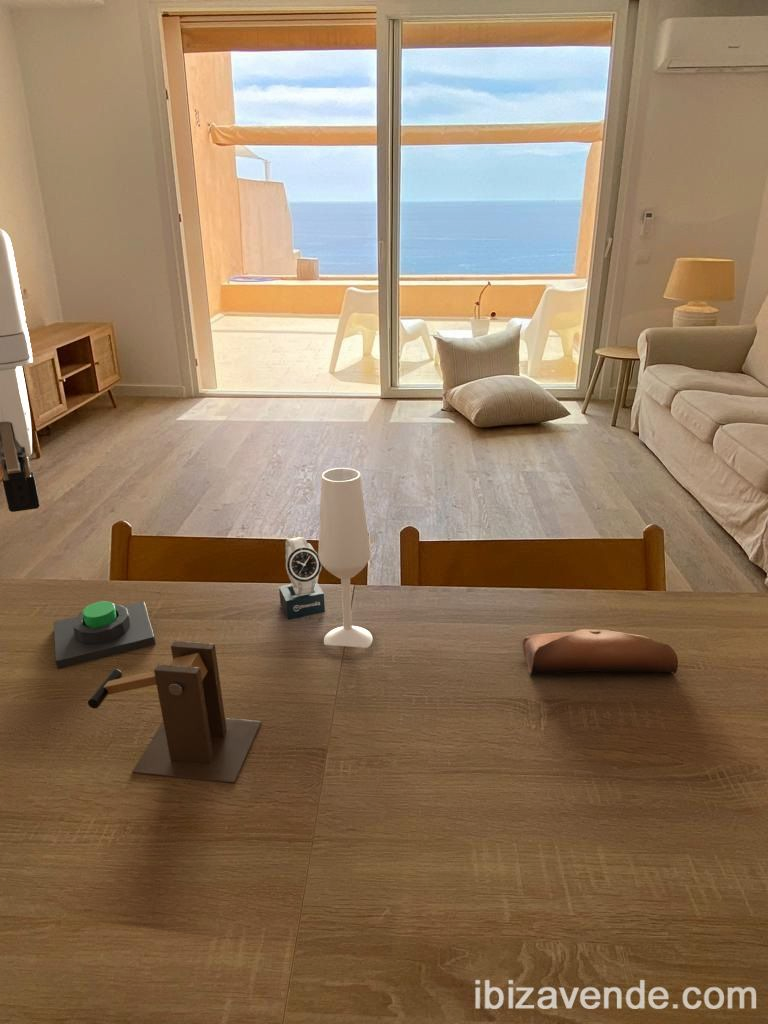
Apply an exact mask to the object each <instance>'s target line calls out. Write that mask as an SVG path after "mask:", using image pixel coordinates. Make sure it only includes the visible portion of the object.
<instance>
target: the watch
mask: <svg viewBox="0 0 768 1024" xmlns="http://www.w3.org/2000/svg"><path fill="white" fill-rule="evenodd" d="M284 557H285V569H286V574H287V575H288V579H289V581H290V583H289V584H284V585H280V586H278V591H279V592H278V593H279V604H280V607H281V609H282V611H283V613H284V615H285V618H286V619H287V620H288V621H289V620H294V619H298V618H302V617H306V616H312V615H316V614H320V613H325V612H326V607H325V605H326V604H325V592H323V589H322V588H321V586H320V585H319V583H318V582H319V577H320V573H321V571H322V564H321V562H320V560H319V558H318V551H316V550H315V549H314V547H313V546H312V544H311V543H310V542H309V543H308V541H307V540H306V538H305V537H304V536H300V537H294V538H287V539H286V540H285V555H284Z"/></svg>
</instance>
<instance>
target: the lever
mask: <svg viewBox="0 0 768 1024" xmlns="http://www.w3.org/2000/svg"><path fill="white" fill-rule="evenodd" d="M170 665H173V666H186V667H199V668H200V671H201V678H202V680H203V679H204V677H205V675H206V674H207V672H208V670H207V669H206V667H205V665H204V663H203V661H202V659H201V657H200V655H199V653H195V654H191V655H186V656H181V657H177V658H175V659H174V660H173V659H172V662H171V663H170ZM152 686H157V684H156V679H155V674H154V670H153V671H149V672H145V673H144V672H143V673H139V674H135V675H130V676H125V677H123V673H122V671H121V670H119V669H117V668H116V669H112V670H111V672H109V674H108V675H107V677H106V678H105V679H104V680H103V681H102V683H101V684H100V685H99V687H98V688H97V689H96V690H95V691H94V692H93V694H92V695H91V696H90V697H89V699H88V700H87V705H88V706H89V708H92V709H98V708H99V707H100V706H101V704H102V703H103V702H104V700H105V699H106V698H107V697H108V696H109V695H113V694H118V693H123V692H126V691H132V690H137V689H142V688H147V687H152Z"/></svg>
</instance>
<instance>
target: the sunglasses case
mask: <svg viewBox="0 0 768 1024" xmlns="http://www.w3.org/2000/svg"><path fill="white" fill-rule="evenodd" d="M522 646H523V652H524V657H525V662H526V668H527V672H528V674H529V675H532V674H536V675H544V674H558V673H559V674H561V673H564V674H565V673H570V672H571V673H578V672H580V673H581V672H661V673H662V672H667V673H673V674H676V673H677V671H678V667H679V659H678V655H677V653H676V651H675V650H674V648H673V647H672V646H670V645H668V644H666V643H664V642H661V641H658V640H655V639H653V638H649V637H647V636H644V635H641V634H632V633H628V632H622V631H613V630H609V629H584V628H583V629H577V630H575V631H572V632H571V631H569V632H567V631H566V632H548V633H538V634H531V635H528V636H525V637H524V639H523V641H522Z"/></svg>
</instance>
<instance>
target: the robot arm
mask: <svg viewBox="0 0 768 1024" xmlns="http://www.w3.org/2000/svg"><path fill="white" fill-rule="evenodd" d="M18 276H19V275H18V272H17V266H16V260H15V256H14V249H13V245H12V242H11V238H10V236H9V235H8V233H7V232H6V231H5V230H3V228H1V227H0V467H1V472H2V479H1V480H2V485H3V490H4V494H5V498H6V503H7V508H8V511H9V512H11V513H14V512H15V513H16V512H23V511H29V510H37V509H38V508H40V498H39V493H38V487H37V483H36V479H35V473H34V471H32V467H31V463H30V458H29V457H30V456H31V455H32V454H33V431H32V429H33V428H32V420H31V419H32V418H31V411H30V403H29V398H28V392H27V386H26V381H25V376H24V375H25V374H24V370H23V367H25V366H28V365H30V364H32V363H33V362H34V358H33V352H32V347H31V346H32V345H31V342H30V336H29V331H28V327H27V320H26V316H25V315H26V314H25V310H24V305H23V298H22V293H21V288H20V283H19V277H18Z"/></svg>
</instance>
